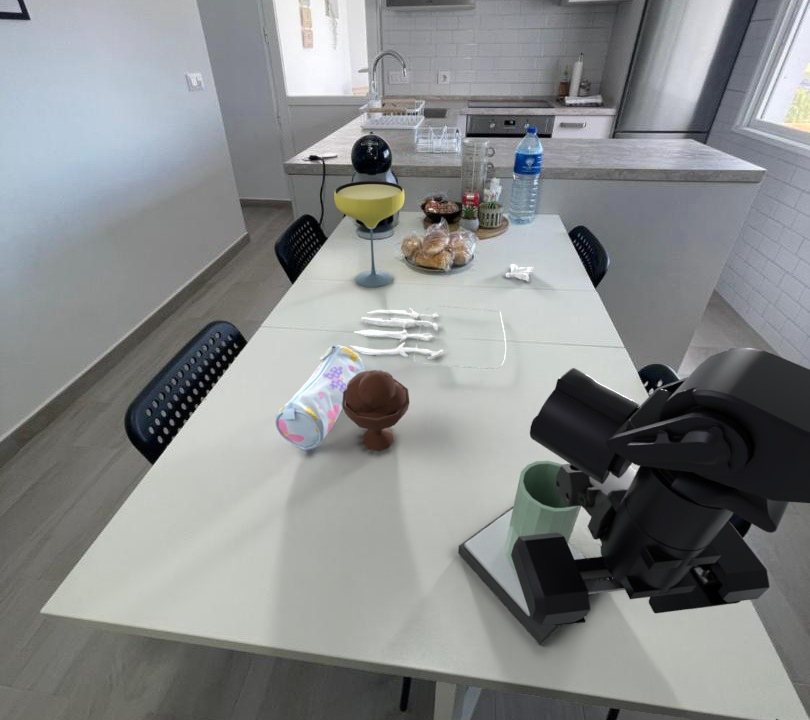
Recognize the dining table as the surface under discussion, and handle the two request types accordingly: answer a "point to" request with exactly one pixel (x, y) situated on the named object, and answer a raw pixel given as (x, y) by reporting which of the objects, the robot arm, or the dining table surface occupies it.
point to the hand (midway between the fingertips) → (605, 613)
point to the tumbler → (539, 506)
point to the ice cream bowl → (375, 406)
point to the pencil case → (318, 399)
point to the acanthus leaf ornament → (520, 272)
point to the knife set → (404, 334)
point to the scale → (503, 571)
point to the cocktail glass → (370, 215)
